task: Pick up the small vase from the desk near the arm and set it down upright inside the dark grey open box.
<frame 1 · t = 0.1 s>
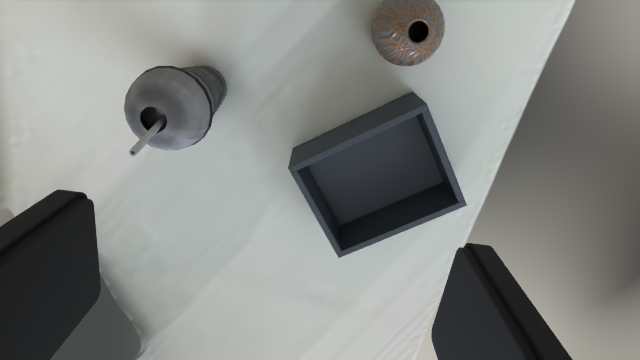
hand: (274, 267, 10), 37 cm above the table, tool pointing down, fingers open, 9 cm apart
dark grey open box: (372, 165, 49), on the table
vase: (400, 28, 43), on the table
beverage cup: (207, 86, 46), on the table
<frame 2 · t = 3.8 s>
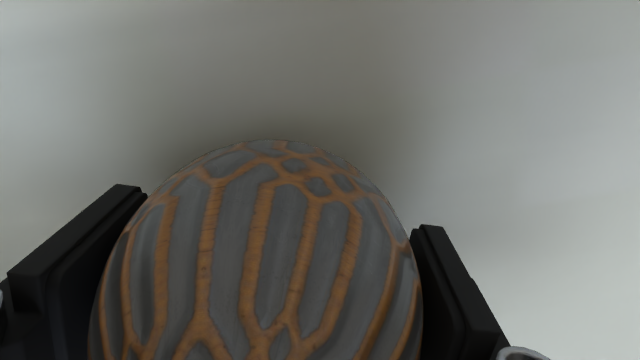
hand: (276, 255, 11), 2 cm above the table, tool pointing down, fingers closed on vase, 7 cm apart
vase: (284, 217, 13), on the table, touching gripper
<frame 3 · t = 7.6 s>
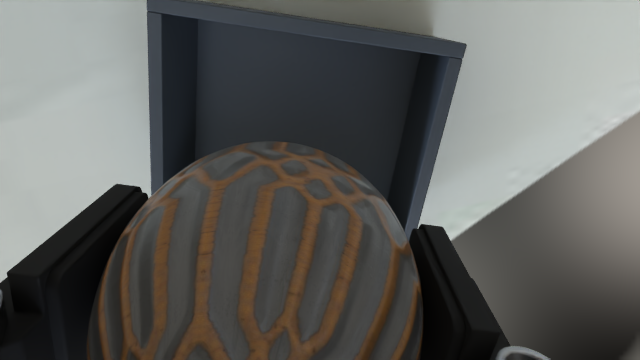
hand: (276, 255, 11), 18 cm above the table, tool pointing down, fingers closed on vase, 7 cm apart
dark grey open box: (301, 114, 28), on the table
vase: (284, 218, 13), point 16 cm above the table, touching gripper
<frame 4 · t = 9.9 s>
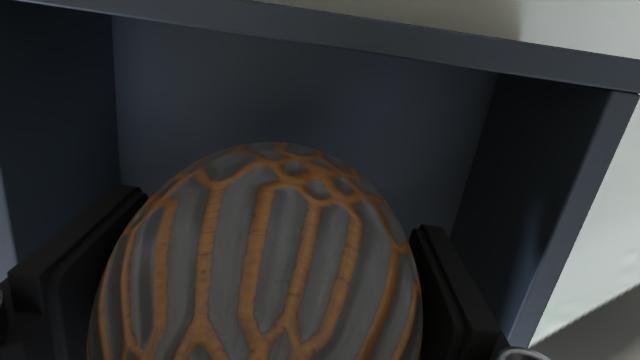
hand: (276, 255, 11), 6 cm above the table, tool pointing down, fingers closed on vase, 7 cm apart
dark grey open box: (294, 169, 17), on the table
vase: (284, 218, 13), point 4 cm above the table, touching gripper
when the fingers open (3 cm above the table, at t = 11.6 s): vase stays where it is, resting on dark grey open box.
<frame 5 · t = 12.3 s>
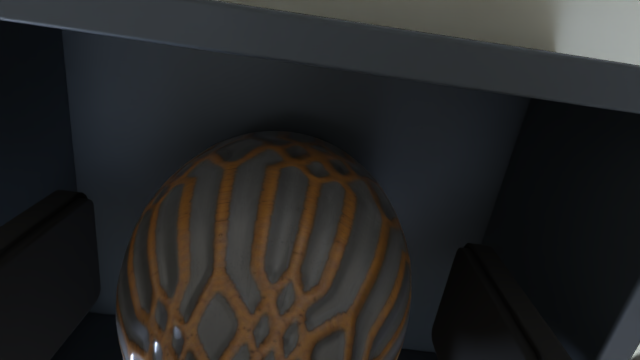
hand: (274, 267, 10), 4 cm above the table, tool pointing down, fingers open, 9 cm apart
dark grey open box: (286, 201, 14), on the table
vase: (286, 205, 14), resting on dark grey open box
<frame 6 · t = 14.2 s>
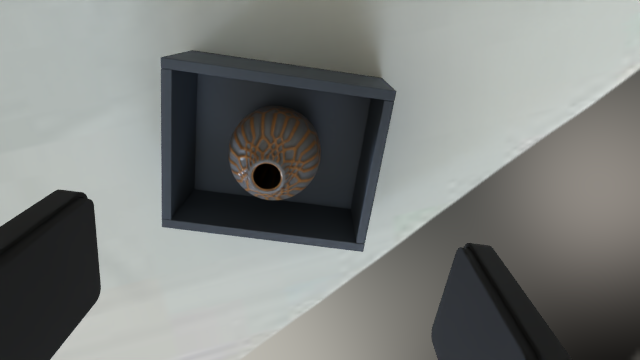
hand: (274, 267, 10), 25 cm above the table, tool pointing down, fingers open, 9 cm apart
dark grey open box: (280, 138, 34), on the table
vase: (280, 139, 34), resting on dark grey open box
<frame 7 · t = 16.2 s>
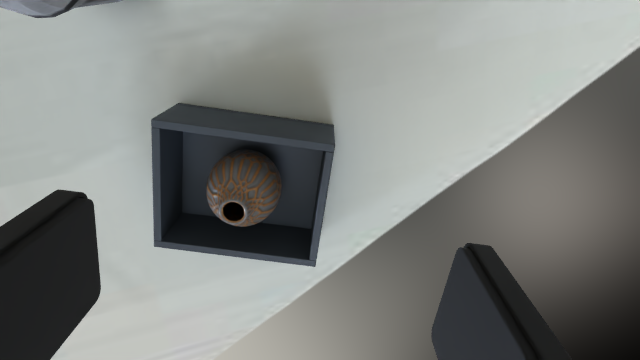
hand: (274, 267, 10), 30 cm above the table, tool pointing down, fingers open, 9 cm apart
dark grey open box: (251, 171, 42), on the table
vase: (251, 172, 42), resting on dark grey open box
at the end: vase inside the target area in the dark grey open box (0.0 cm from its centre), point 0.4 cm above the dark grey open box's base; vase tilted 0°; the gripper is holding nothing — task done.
